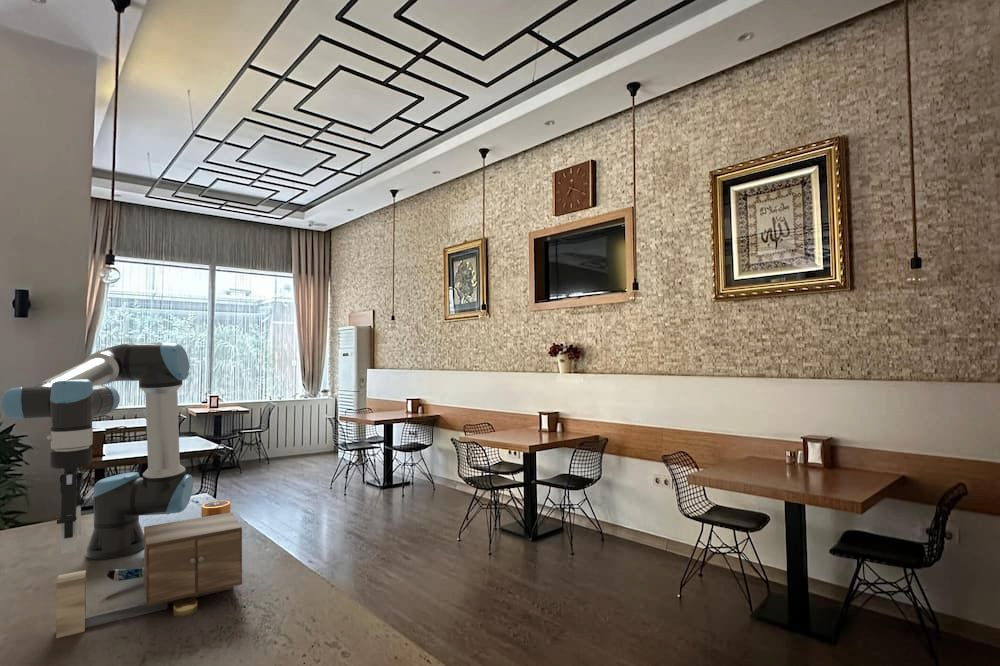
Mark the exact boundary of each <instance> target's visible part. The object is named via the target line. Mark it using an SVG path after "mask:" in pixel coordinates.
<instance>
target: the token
mask: <svg viewBox="0 0 1000 666" xmlns="http://www.w3.org/2000/svg"><path fill="white" fill-rule="evenodd" d="M172 604H173V607H172V608H173V614H172V615H173V616H174V617H178V618H179V617H180V618H183V617H187V616H188V617H189V616H191V615H192V614H195V613H196V612H197V611H198V597H195V598H194V597H189V598H183V599H180V600H178V601H176V602H174V603H172Z"/></svg>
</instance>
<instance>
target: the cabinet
mask: <svg viewBox="0 0 1000 666" xmlns="http://www.w3.org/2000/svg"><path fill="white" fill-rule="evenodd" d="M143 528H144V529H143V534H144V548H143V552H144V553H143V555H144V556H143V559H144V560H143V563H144V564H143V567H144V577H143V582H144V583H143V584H144V596H145V602H146V606H151V605H155V604H159V603H164V602H167V605H169V604H174V603H175V602H176V601H178V600H180V599H183V598H189V597H194V598H199V597H203V596H208V595H211V594H217V593H220V592H225V591H228V590H232V589H233V590H234V587H236V586H240V585H243V526H242V525H241V524H240V522H239V520H238V519H237V517H236V516H235V514H234V513H233V512H231V511H230V513H225V514H219V515H213V516H207V517H202V516H201V517H195V518H189V519H183V520H178V521H177V520H176V521H171V522H167V523H166V522H165V523H158V524H154V525H146V526H144V527H143Z"/></svg>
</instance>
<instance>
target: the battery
mask: <svg viewBox="0 0 1000 666" xmlns="http://www.w3.org/2000/svg"><path fill="white" fill-rule="evenodd" d="M225 513H231V501H229V500H214V501H209V502H206V503H203V504H202V505H201V517H207V516H213V515H219V514H225Z"/></svg>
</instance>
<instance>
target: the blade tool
mask: <svg viewBox="0 0 1000 666" xmlns="http://www.w3.org/2000/svg"><path fill="white" fill-rule="evenodd" d="M55 587H56V588H55V601H56V602H55V604H56V606H55V614H56V616H55V619H56V620H55V622H56V623H55V627H56V628H55V632H56V633H55V638H56V639H59V638H63V637H67V636H72V635H76V634H80V633H84V632H85V630H86V629H87V628H88V629H89V628H93V627H97V626H100V625H105V624H109V623H113V622H117V621H122V620H125V619H130V618H133V617H138V616H142V615H147V614H150V613H154V612H158V611H163V610H167V609H168V604H167V602H164V603H159V604H155V605H151V606H146V601H144V602H140V603H139V602H138V603H136V604H135V603H134V604H131V605H127V606H121V607H119V608H113V609H110V610H105V611H101V612H96V613H91V614H87V570H86V569H84V570H80V571H79V570H78V571H73V572H69V573H64V574H59V575H57V579H56V582H55Z"/></svg>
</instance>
